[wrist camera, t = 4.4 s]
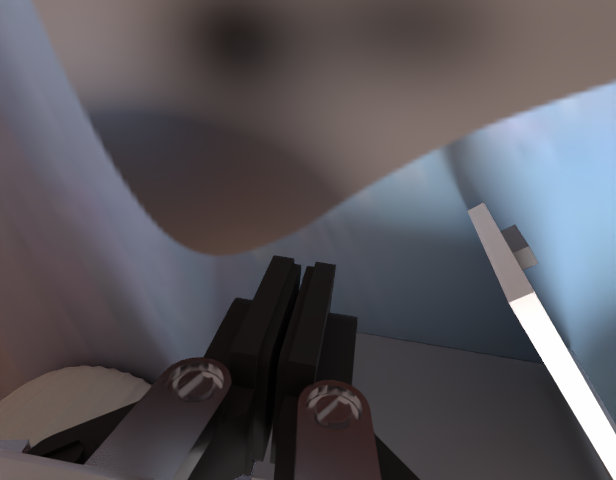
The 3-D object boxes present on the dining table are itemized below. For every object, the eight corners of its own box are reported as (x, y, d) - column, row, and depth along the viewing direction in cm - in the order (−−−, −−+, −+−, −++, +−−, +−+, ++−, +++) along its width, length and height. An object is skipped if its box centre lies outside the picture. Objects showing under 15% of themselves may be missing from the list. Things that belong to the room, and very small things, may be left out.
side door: (586, 358, 24) (680, 512, 16) (556, 369, 24) (632, 523, 17) (495, 195, 21) (557, 288, 13) (462, 212, 21) (504, 310, 14)
